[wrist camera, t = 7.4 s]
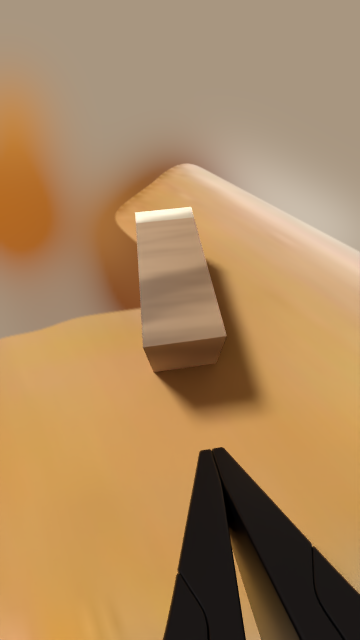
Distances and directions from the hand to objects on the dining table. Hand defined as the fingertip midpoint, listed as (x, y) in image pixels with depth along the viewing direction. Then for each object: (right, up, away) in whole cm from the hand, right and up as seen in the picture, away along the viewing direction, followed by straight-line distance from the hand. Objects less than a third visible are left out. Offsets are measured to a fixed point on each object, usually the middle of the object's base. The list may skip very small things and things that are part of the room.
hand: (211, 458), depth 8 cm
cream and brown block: (-1, +2, +7) cm, 8 cm away
